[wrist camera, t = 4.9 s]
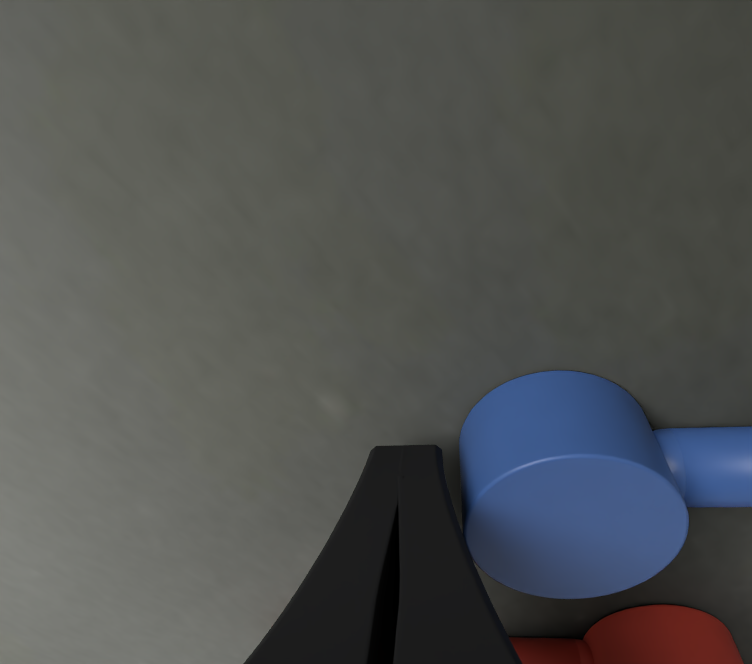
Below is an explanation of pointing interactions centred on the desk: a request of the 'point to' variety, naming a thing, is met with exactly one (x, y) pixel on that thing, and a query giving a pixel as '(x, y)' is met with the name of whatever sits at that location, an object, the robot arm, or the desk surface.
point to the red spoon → (639, 640)
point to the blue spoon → (586, 485)
